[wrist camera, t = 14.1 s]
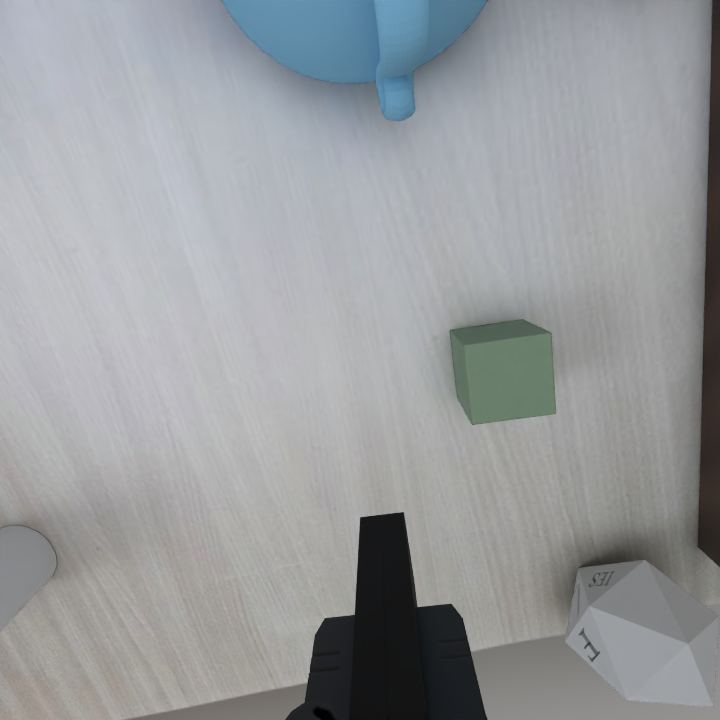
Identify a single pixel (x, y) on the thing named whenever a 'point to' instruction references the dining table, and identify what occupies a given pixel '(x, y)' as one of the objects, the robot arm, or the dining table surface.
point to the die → (644, 634)
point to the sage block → (503, 371)
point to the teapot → (357, 39)
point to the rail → (712, 327)
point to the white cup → (22, 568)
